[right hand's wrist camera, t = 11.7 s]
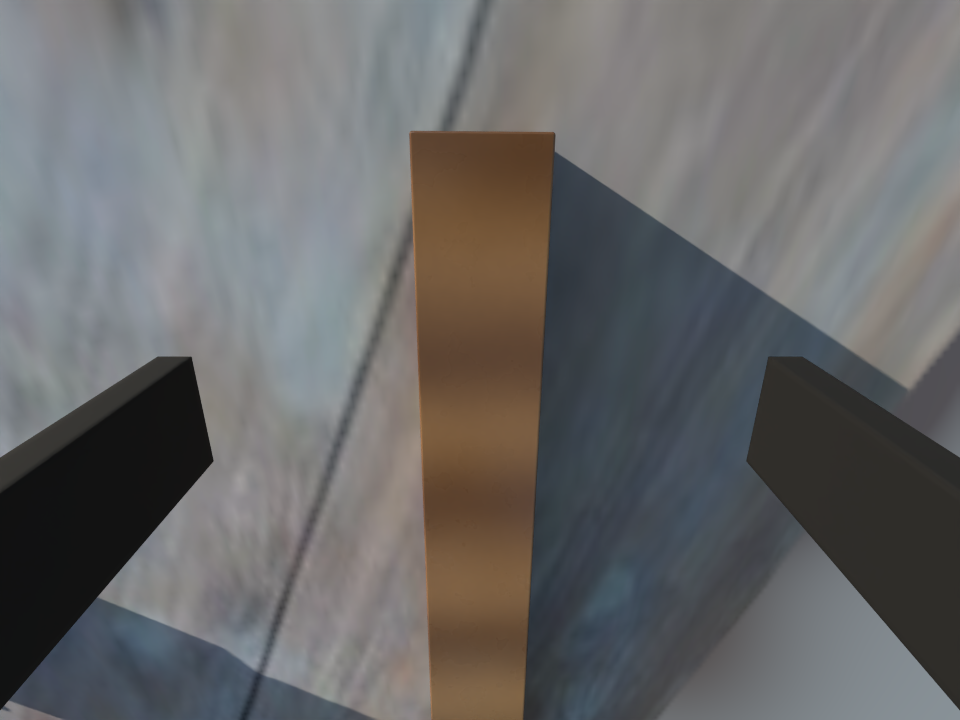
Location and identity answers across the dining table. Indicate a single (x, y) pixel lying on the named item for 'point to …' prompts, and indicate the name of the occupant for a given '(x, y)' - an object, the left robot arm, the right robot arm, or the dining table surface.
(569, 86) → the dining table surface
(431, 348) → the beam
